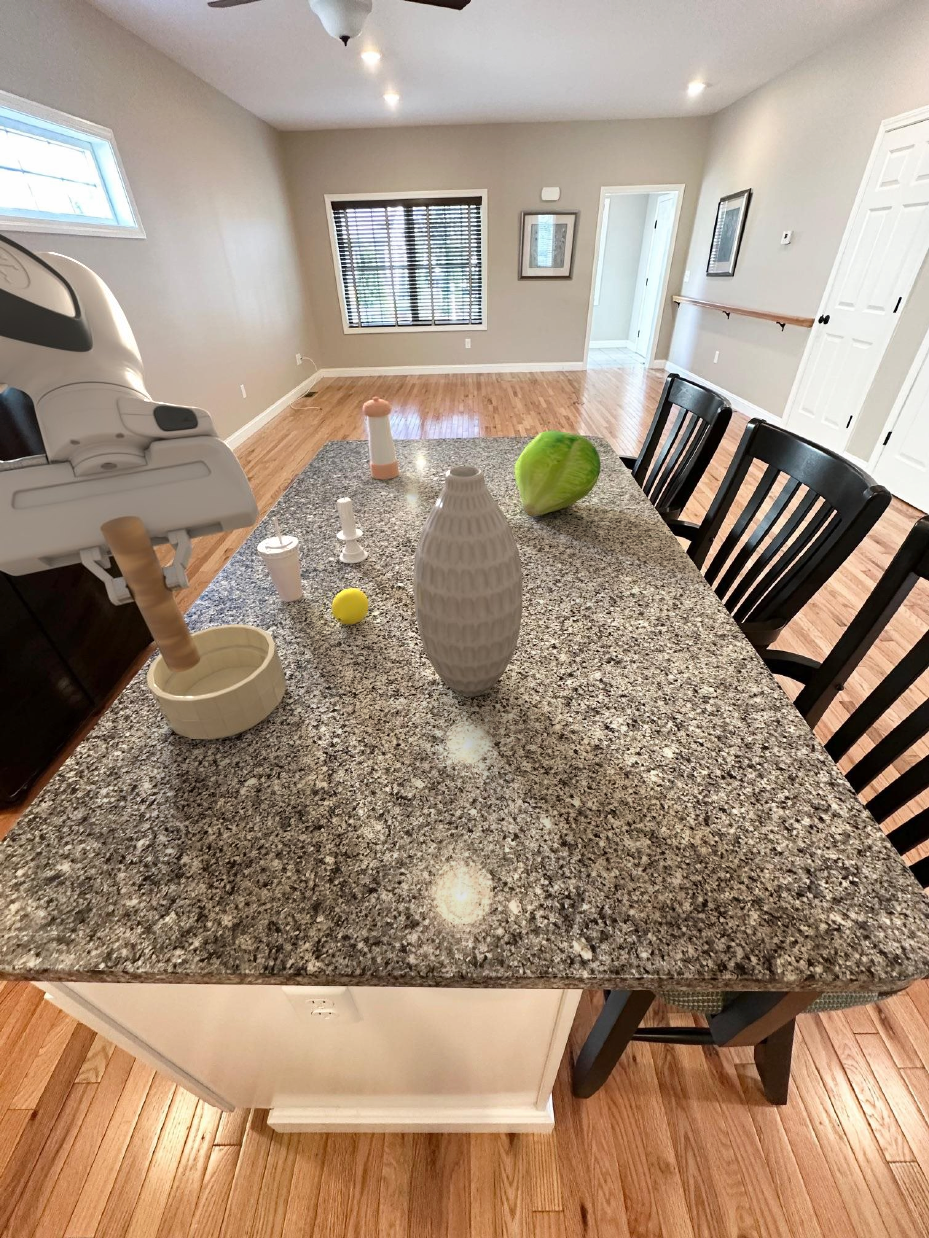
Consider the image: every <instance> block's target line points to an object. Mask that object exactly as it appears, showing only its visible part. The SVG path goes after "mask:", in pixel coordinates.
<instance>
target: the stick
mask: <svg viewBox="0 0 929 1238" xmlns="http://www.w3.org/2000/svg"><path fill="white" fill-rule="evenodd" d="M100 529H101V532H102V534H103V536H104V538H105V540H106V542H107V544H108V546H109V548H110V550H111V552H112V554H113V556H112V557H113V558H114V560H115V563H116V564H117V566H118V568H119V570H120V572H121V574H122V577H124V579H125V581H126V583H127V585H128V587H129V589H130V591H131V593H132V595H133V597H134V599H135V601H134V602H135V603H136V605H137V608H138V609H139V612H140V614H141V616H142V618H143V620H144V622H145V624H146V626H147V628H148V631H149V633H150V634H151V636H152V638H153V640H154V642H155V644H156V646H157V648H158V650H159V654H160V653H161V655H162V657H163V659H164V661H165V663H166V665H167V667H168V669H169V670H170V671H172V672H183V671H186V670H189V669H191V668H193V667H194V666H196V665H197V664H198V663H199V661H200V655H199V652H198V650H197V648H196V645H195V643H194V641H193V638H192V636H191V634H192V633H191V632H190V629H189V627H188V624H187V623H186V620H185V618H184V615H183V613H182V611H181V608H180V606H179V604H178V602H177V599H176V597H175V594H174V591H173V592H171V591H170V590H169V589H168V587H167V585H166V582H165V579H166V577H165V576H164V575H163V570H162V568H163V567H162V564H161V562H160V560H159V557H158V555H157V553H156V551H155V547H153V546H152V543H151V541H150V539H149V536H148V534H147V532H146V529H145V527H144V525H143V523H142V520H141V519H140V518H139V517H137V516H125V517H119V518H116V519H112V520H110V521H108V522H106V523H104V524H103V525H102V526H101V527H100Z"/></svg>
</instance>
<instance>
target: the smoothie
mask: <svg viewBox="0 0 929 1238" xmlns="http://www.w3.org/2000/svg"><path fill="white" fill-rule="evenodd" d="M272 520H273V525H274V529H275V533H276V536H273V537H269V538H266V539H264V540H262V541H261V542H260V543H258V545H257V547H256V549H257V555H258V556H259V557H261V558H262V560H263V563H264V565H265V567H266V570H267V572H268V574H269V576H270V578H271V581H272V583H273V585H274V588H275V590H276V592H277V595H278V597H279V599H280V600H281V601H282V602H288V603H289V602H290V603H291V602H295V601H297V600H299V599H301V598H302V597H303V585H302V575H301V566H300V556H299V555H300V554H299V550H300V548H301V547H300V543H299V540H298V538H296V537H294V536H291V535H282V534H281V530H280V526H279V521H278V517H273V518H272Z"/></svg>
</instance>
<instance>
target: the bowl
mask: <svg viewBox="0 0 929 1238" xmlns="http://www.w3.org/2000/svg"><path fill="white" fill-rule="evenodd" d="M190 634H191V636H192V638H193V641H194V643H195V645H196V648H197V650H198V652H199V655H200V661H199V663H198V664H197V665H196V666H194V667H193V668H191V669H189V670H186V671H183V672H172V671H170V670H169V669H168V667H167V665H166V663H165V661H164V659H163V657H162V655H161V653H160V652H159V654H158V656H157V657H156V658H155V659H154V660H153V661H152V662H151V664H150V666H149V668H148V670H147V673H146V683H147V688H148V690H149V691H150V693H151V695H152V698H153V699H154V701H155V703H156V705H157V707H158V708H159V711H160V712H161V715H162V716H163V719H164V720H165V722H166V725H168V726H169V727H170V729H171V730H173V732H174V733H176V734H177V735H180V736H184V737H185V738H189V739H192V740H193V739H195V740H218V739H224V738H228V737H232V736H235V735H238V734H241V733H243V732H246V731H248V730H249V729H251V728H253V727H254V726H256V725H258V724H259V723H261V722H262V721H264V720H265V719H266V718H267V717H268V716H269V715H271V713H273V712H274V710H275V708H277V706H278V705H280V703H281V701H282V699H283V697H284V696H285V693H286V689H287V678H286V675H285V672H284V669H283V665H282V662H281V659H280V655H279V652H278V649H277V646H276V643H275V641H274V638H273V637H272V635H271V634H270V633H269V632H267V631H266V630H264V629H263V628H261V627H257V626H254V625H250V624H236V623H235V624H233V623H229V624H223V625H215V626H211V627H208V628H203V629H202V630H198V631H195V632H193V633H190Z"/></svg>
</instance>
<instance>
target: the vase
mask: <svg viewBox="0 0 929 1238" xmlns="http://www.w3.org/2000/svg"><path fill="white" fill-rule="evenodd" d="M444 474H445V475H444V484H443V488H442V490H441V492H440V494H439V496H438V498H437V499H436V501H435V503H434V504H433V507H432V508H431V510H430V512H429V514H428V515H427V517H426V519H425V522H424V524H423V526H422V529H421V531H420V534H419V538H418V542H417V546H416V551H415V556H414V560H413V561H414V562H413V563H414V564H413V574H412V583H413V601H414V602H413V603H414V610H415V619H416V623H417V628H418V629H417V630H418V633H419V636H420V640H421V643H422V646H423V650H424V652H425V654H426V656H427V659H428V661H429V663H430V664H431V666H432V669H434V671H435V672H436V674H437V676H438V677H439V678H440V679H441V680H442V681H443V683H444V684H445V685H446V686H447V687H448V688H449V689H450V690H452V692H454V693H456V694H457V695H460V696H463V697H478V696H481V695H485V694H486V693H488V692H489V691H490V690H491V689H492V688H493V687H494V686H495V685H496V684H497V682H498V681H499V680H500V679H501V678H502V676H503V675H504V673H505V671H506V670H507V668H508V666H509V664H510V662H511V660H512V658H513V655H514V653H515V650H516V647H517V644H518V640H519V635H520V631H521V625H522V616H523V600H524V590H523V589H524V586H523V585H524V584H523V582H524V581H523V568H522V562H521V561H522V560H521V557H520V552H519V548H518V545H517V541H516V538H515V536H514V532H513V529H512V527H511V525H510V523H509V521H508V519H507V517H506V516H505V514H504V513H503V511H502V509H501V508H500V505H498V503H497V501H496V500H495V498H494V497H493V495H492V494H491V491H490V490H489V489H488V487H487V485H486V481H485V474H484V471H483V470H482V469H481V468H479V467H477V466H472V465H460V466H453V467H451V468H449V469H448V470H447V471H446V472H445V473H444Z"/></svg>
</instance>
